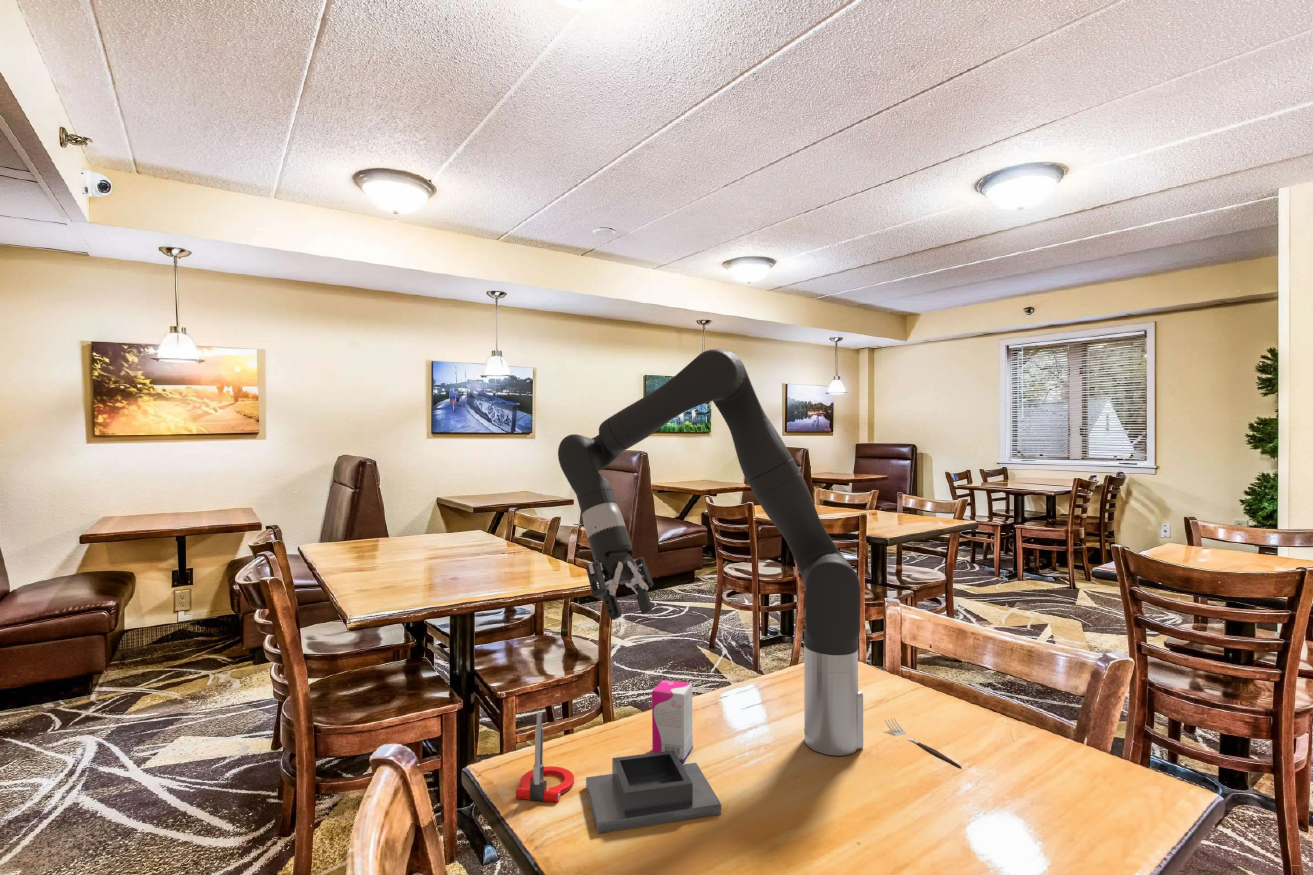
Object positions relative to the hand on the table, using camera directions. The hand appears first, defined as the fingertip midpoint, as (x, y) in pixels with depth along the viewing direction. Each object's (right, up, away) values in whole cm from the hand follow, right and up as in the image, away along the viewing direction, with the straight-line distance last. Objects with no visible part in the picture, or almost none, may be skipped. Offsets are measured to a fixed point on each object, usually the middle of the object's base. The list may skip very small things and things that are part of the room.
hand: (632, 615), depth 115 cm
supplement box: (+7, -23, -5) cm, 24 cm away
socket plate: (+3, -22, -19) cm, 30 cm away
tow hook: (-13, -23, -15) cm, 30 cm away
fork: (+51, -23, -3) cm, 56 cm away
